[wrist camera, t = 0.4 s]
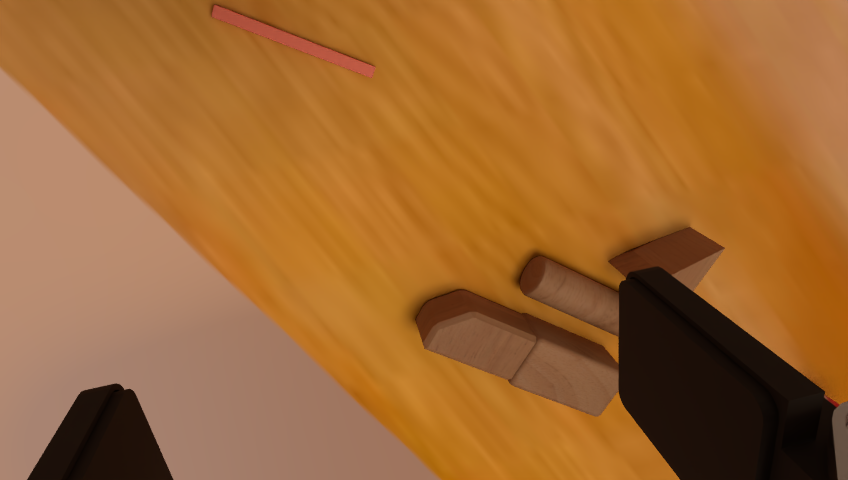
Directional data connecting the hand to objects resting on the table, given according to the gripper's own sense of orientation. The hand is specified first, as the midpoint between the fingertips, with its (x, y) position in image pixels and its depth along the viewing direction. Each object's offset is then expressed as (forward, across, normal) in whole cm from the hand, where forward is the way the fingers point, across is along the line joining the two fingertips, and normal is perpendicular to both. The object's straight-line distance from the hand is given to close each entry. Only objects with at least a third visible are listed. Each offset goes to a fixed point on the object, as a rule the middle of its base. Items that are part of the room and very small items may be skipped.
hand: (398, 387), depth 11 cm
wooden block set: (+30, -15, +16) cm, 37 cm away
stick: (+29, +2, -5) cm, 29 cm away
